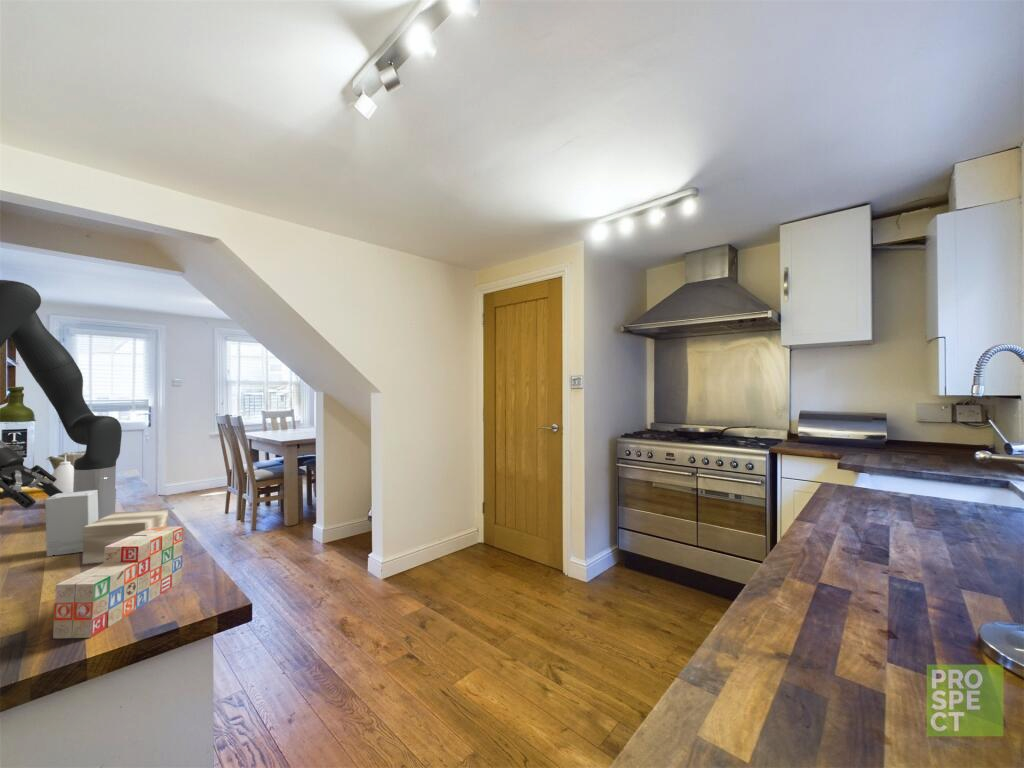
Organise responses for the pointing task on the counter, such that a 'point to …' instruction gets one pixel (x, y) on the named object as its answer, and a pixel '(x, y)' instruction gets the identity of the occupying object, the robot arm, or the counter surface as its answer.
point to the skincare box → (69, 520)
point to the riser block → (118, 530)
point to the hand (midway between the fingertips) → (46, 500)
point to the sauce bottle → (64, 476)
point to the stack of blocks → (119, 582)
